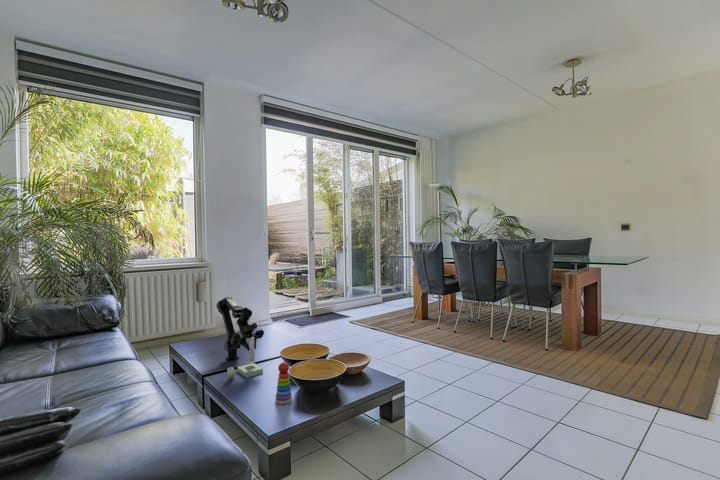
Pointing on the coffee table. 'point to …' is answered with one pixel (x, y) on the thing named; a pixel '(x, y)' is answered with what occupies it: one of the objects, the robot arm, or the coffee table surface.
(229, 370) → the short pin
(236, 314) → the robot arm
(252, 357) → the tall pin
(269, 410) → the coffee table surface
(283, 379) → the stacking toy
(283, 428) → the coffee table surface
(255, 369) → the hole plate
